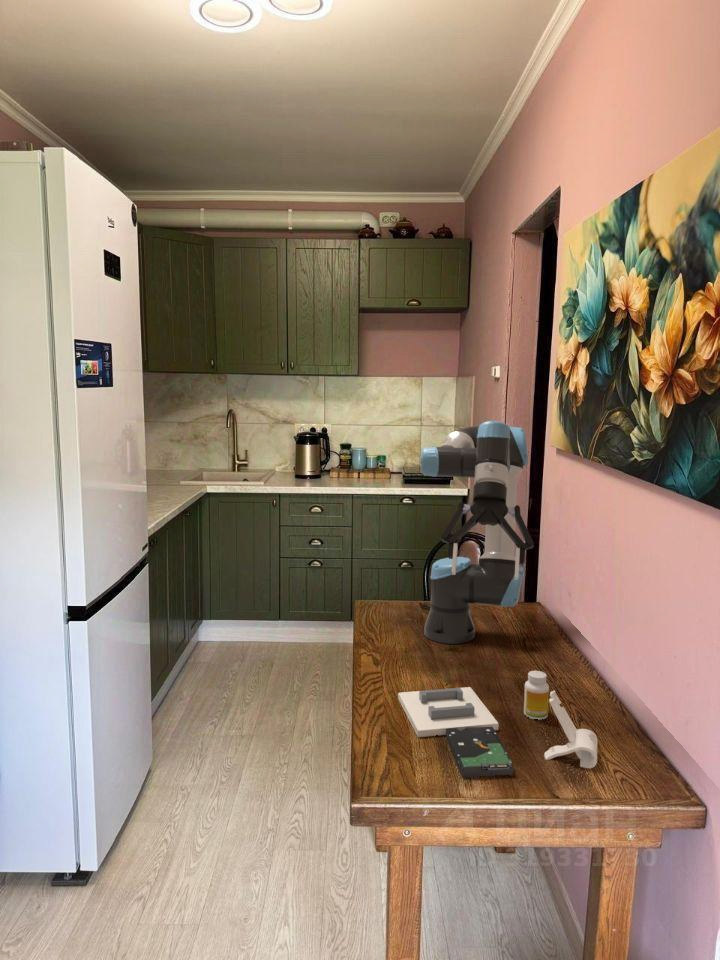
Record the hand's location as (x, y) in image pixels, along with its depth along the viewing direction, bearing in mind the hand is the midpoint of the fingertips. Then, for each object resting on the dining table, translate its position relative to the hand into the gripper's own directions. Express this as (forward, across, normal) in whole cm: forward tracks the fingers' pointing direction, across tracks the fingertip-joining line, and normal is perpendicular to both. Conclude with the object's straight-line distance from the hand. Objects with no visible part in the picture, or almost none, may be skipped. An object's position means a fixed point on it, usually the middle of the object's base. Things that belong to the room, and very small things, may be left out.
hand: (484, 576), depth 144 cm
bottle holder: (+29, -7, +15) cm, 34 cm away
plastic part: (+34, +19, +5) cm, 40 cm away
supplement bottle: (+27, +13, +19) cm, 35 cm away
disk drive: (+37, +1, +1) cm, 37 cm away
